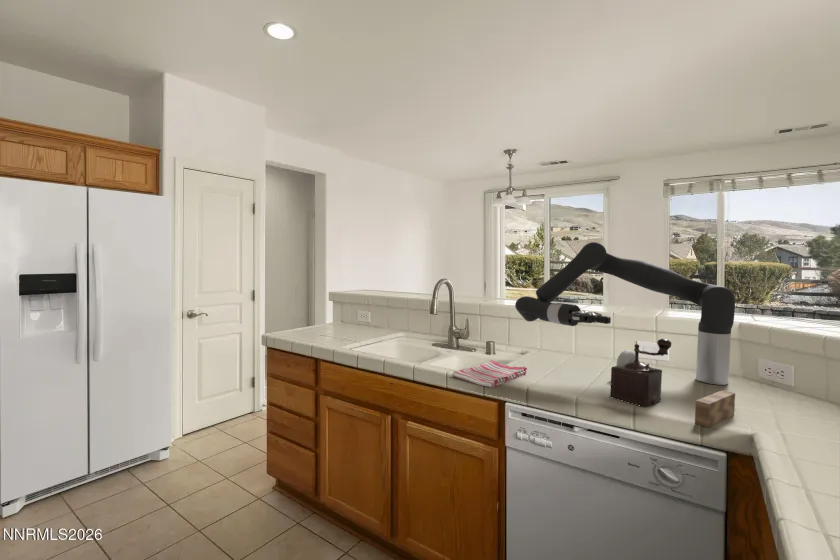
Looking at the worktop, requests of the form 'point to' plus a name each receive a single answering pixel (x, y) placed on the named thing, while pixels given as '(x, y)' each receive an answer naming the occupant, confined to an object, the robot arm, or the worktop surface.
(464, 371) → the dish towel
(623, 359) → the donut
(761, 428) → the worktop surface
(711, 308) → the robot arm
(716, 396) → the block
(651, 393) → the manual coffee grinder
